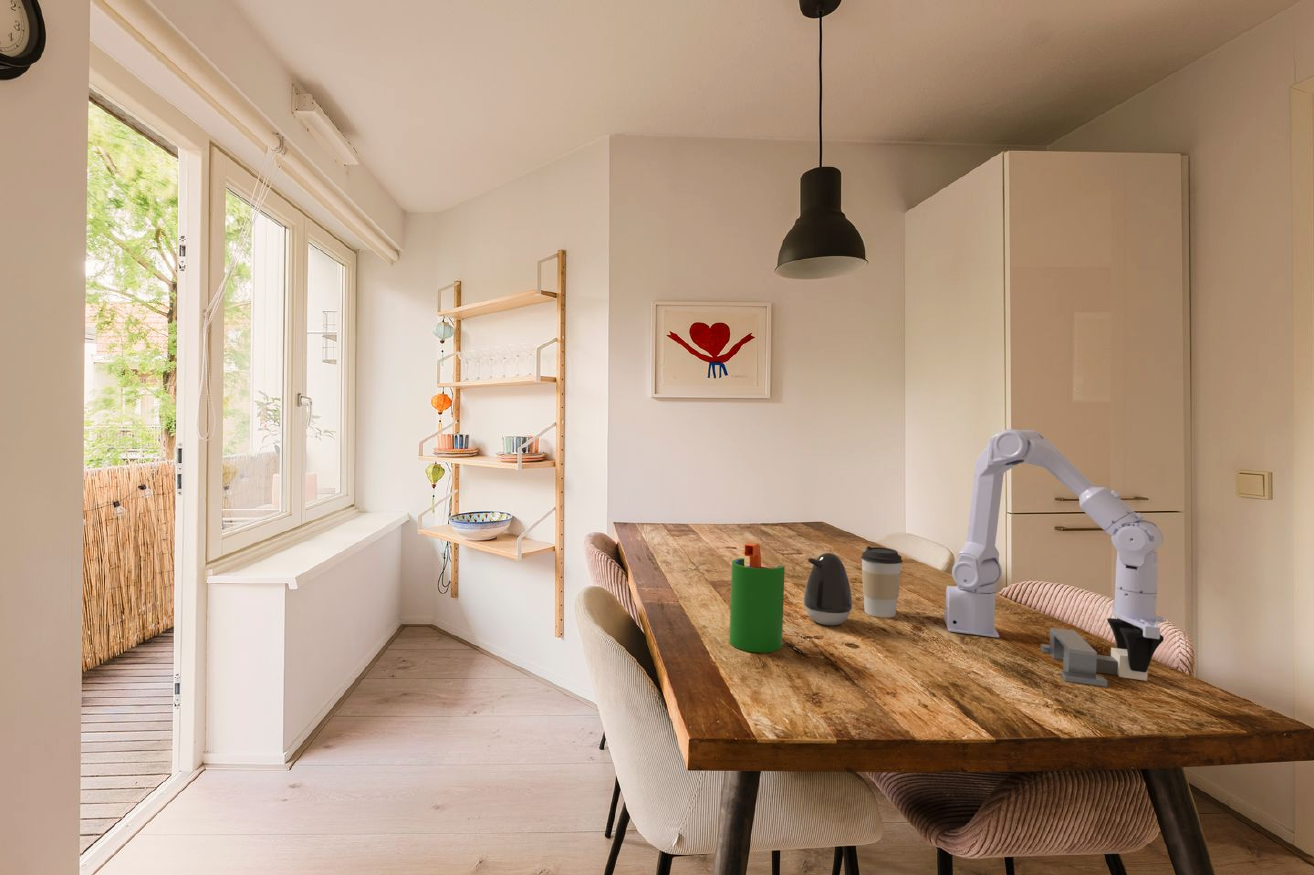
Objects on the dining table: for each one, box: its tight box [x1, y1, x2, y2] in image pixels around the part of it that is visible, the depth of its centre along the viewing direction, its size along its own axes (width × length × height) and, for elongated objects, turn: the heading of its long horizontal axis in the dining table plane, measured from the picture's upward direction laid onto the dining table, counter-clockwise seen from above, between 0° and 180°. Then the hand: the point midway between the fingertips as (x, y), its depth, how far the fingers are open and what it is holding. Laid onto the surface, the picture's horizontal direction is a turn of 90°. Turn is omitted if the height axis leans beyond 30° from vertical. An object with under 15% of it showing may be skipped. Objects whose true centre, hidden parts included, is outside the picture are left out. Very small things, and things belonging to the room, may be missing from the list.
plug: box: [1096, 647, 1149, 682], centre depth 105 cm, size 8×4×4 cm, turn 70°
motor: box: [729, 542, 786, 654], centre depth 114 cm, size 10×9×20 cm
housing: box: [1040, 627, 1108, 688], centre depth 107 cm, size 6×16×5 cm, turn 160°
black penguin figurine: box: [803, 552, 853, 627], centre depth 129 cm, size 10×10×15 cm
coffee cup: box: [860, 545, 903, 619], centre depth 136 cm, size 9×9×15 cm
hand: (1132, 665), depth 104 cm, fingers closed on plug, 4 cm apart
